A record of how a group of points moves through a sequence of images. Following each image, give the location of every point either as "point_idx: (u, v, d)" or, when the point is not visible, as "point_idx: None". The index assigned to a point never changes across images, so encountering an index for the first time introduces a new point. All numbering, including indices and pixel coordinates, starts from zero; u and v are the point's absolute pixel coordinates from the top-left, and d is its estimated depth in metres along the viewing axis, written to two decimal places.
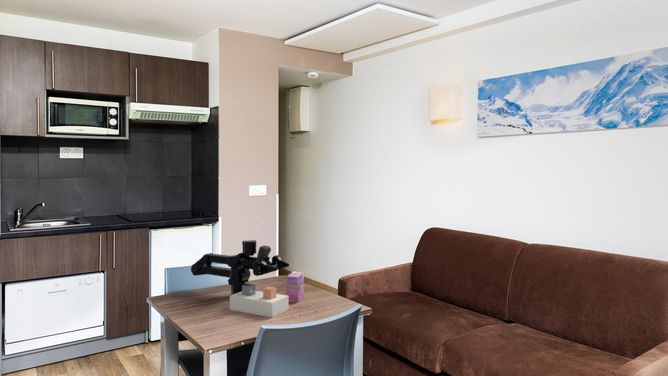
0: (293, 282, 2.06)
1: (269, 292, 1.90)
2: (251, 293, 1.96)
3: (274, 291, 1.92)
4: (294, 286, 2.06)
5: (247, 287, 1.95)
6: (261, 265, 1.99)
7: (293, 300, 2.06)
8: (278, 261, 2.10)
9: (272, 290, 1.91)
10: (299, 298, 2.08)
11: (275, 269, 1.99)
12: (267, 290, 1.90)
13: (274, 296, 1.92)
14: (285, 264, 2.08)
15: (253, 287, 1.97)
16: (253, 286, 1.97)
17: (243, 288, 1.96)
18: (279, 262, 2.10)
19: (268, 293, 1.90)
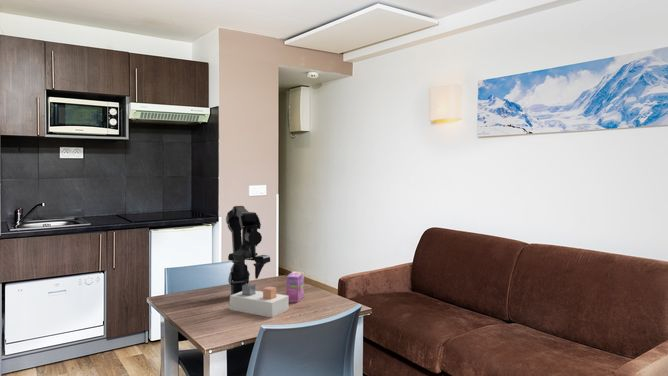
0: (293, 282, 2.06)
1: (269, 292, 1.90)
2: (251, 293, 1.96)
3: (274, 291, 1.92)
4: (294, 286, 2.06)
5: (247, 287, 1.95)
6: None
7: (293, 300, 2.06)
8: None
9: (272, 290, 1.91)
10: (299, 298, 2.08)
11: None
12: (267, 290, 1.90)
13: (274, 296, 1.92)
14: None
15: (253, 287, 1.97)
16: (253, 286, 1.97)
17: (243, 288, 1.96)
18: None
19: (268, 293, 1.90)
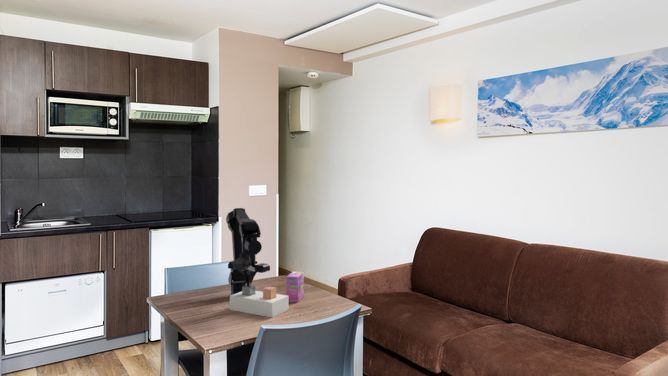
0: (293, 282, 2.06)
1: (269, 292, 1.90)
2: (251, 294, 1.96)
3: (274, 291, 1.92)
4: (294, 286, 2.06)
5: (247, 288, 1.95)
6: None
7: (293, 300, 2.06)
8: None
9: (272, 290, 1.91)
10: (299, 298, 2.08)
11: None
12: (267, 290, 1.90)
13: (274, 296, 1.92)
14: None
15: (253, 288, 1.97)
16: (253, 287, 1.97)
17: (243, 289, 1.96)
18: None
19: (268, 293, 1.90)
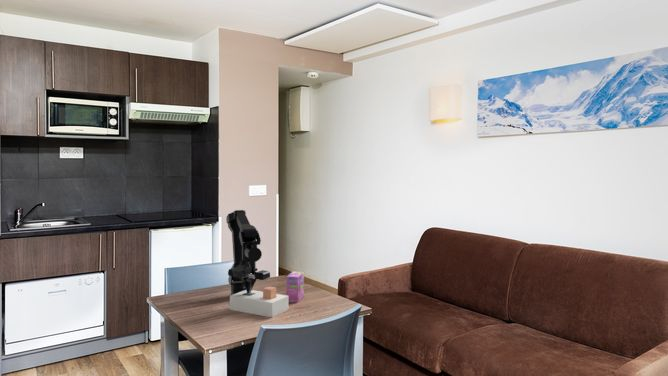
0: (293, 282, 2.06)
1: (269, 292, 1.90)
2: None
3: (274, 291, 1.92)
4: (294, 286, 2.06)
5: None
6: None
7: (293, 300, 2.06)
8: None
9: (272, 290, 1.91)
10: (299, 298, 2.08)
11: None
12: (267, 290, 1.90)
13: (274, 296, 1.92)
14: None
15: None
16: None
17: None
18: None
19: (268, 293, 1.90)
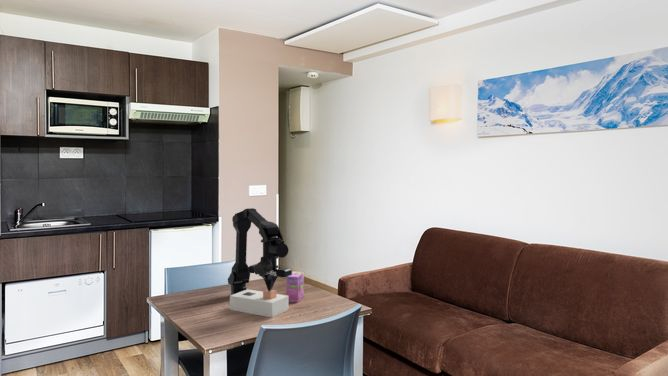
0: (293, 282, 2.06)
1: (269, 295, 1.90)
2: None
3: (274, 294, 1.92)
4: (294, 286, 2.06)
5: None
6: None
7: (293, 300, 2.06)
8: None
9: (272, 293, 1.91)
10: (299, 298, 2.08)
11: None
12: (267, 293, 1.90)
13: None
14: None
15: None
16: None
17: None
18: None
19: (268, 296, 1.90)
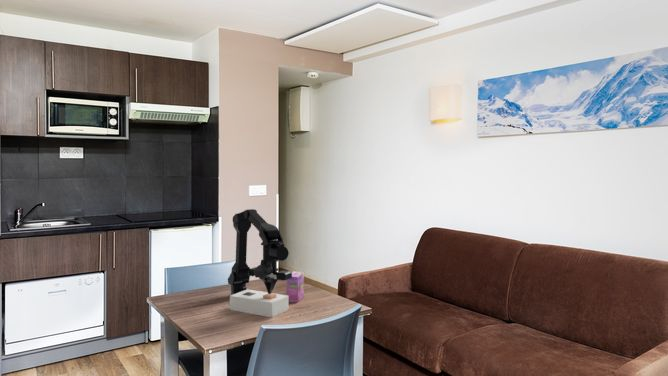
0: (293, 282, 2.06)
1: None
2: None
3: None
4: (294, 286, 2.06)
5: None
6: None
7: (293, 300, 2.06)
8: None
9: (272, 297, 1.91)
10: (299, 298, 2.08)
11: None
12: (267, 297, 1.90)
13: None
14: None
15: None
16: None
17: None
18: None
19: None
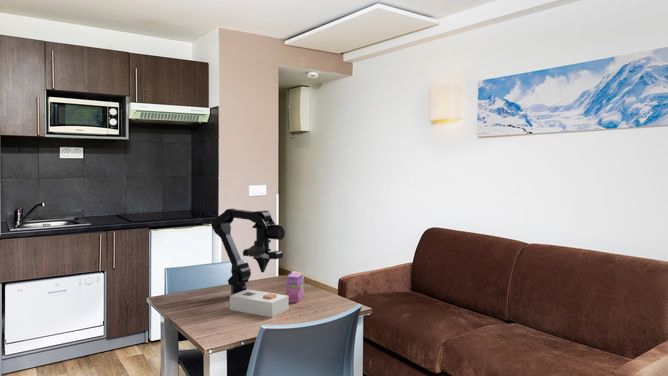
0: (293, 282, 2.06)
1: None
2: None
3: None
4: (294, 286, 2.06)
5: None
6: None
7: (293, 300, 2.06)
8: None
9: (272, 297, 1.91)
10: (299, 298, 2.08)
11: None
12: (267, 297, 1.90)
13: None
14: None
15: None
16: None
17: None
18: None
19: None
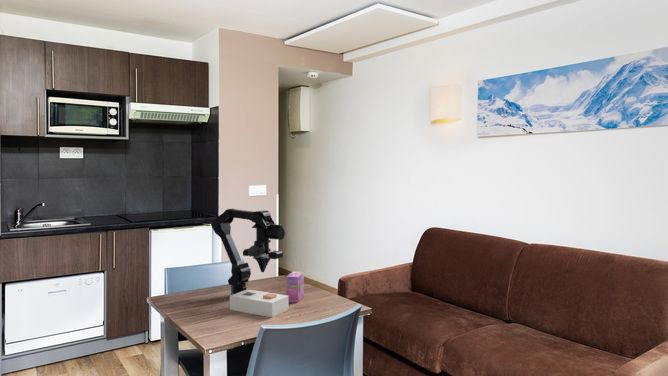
0: (293, 282, 2.06)
1: None
2: None
3: None
4: (294, 286, 2.06)
5: None
6: None
7: (293, 300, 2.06)
8: None
9: (272, 297, 1.91)
10: (299, 298, 2.08)
11: None
12: (267, 297, 1.90)
13: None
14: None
15: None
16: None
17: None
18: None
19: None
